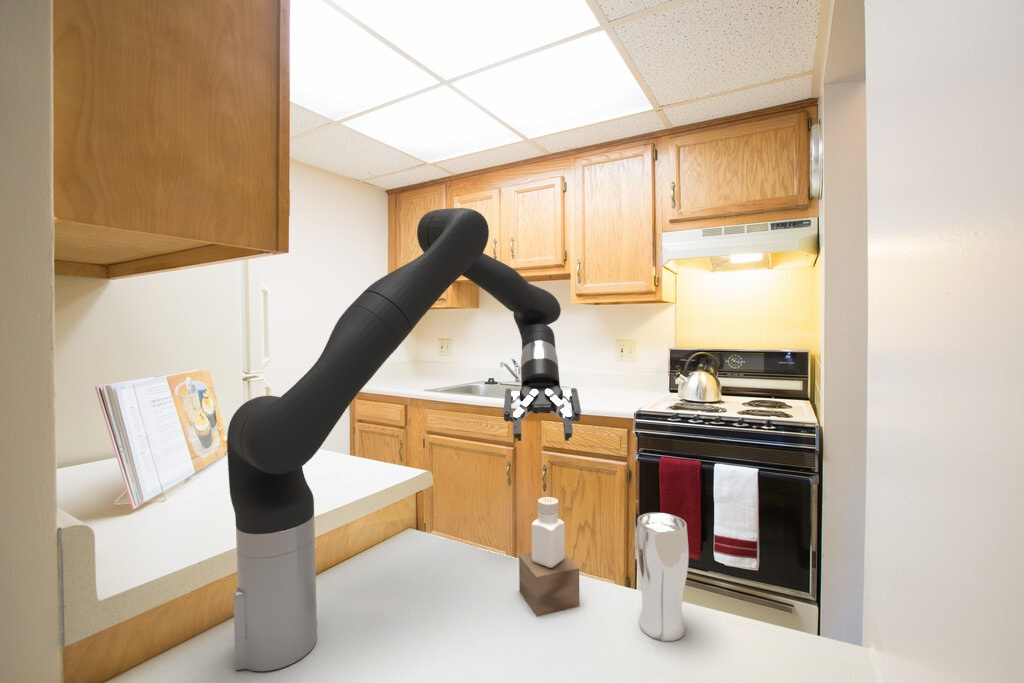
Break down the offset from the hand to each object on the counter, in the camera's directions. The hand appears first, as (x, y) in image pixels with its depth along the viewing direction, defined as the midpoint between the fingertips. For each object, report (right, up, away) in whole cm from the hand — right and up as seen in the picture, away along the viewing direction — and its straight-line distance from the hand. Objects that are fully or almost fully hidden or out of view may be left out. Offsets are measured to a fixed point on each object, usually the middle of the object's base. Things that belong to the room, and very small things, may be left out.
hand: (543, 438), depth 84 cm
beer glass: (+15, -23, -18) cm, 33 cm away
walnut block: (0, -23, -11) cm, 25 cm away
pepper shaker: (0, -17, -11) cm, 20 cm away
